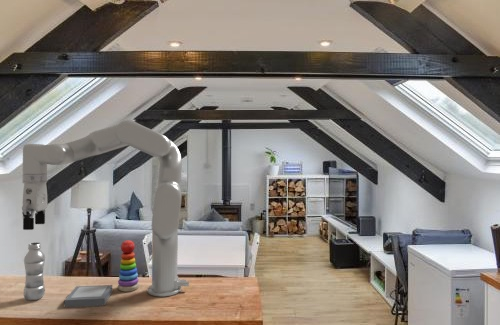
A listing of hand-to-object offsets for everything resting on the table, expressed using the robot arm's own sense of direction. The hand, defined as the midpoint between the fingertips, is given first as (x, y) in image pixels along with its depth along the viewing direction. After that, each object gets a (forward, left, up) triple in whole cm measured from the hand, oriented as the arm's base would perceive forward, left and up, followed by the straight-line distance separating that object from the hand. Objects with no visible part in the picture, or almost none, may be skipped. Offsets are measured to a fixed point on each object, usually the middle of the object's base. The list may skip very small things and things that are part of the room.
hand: (34, 226), depth 133 cm
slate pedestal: (-19, +2, -26) cm, 33 cm away
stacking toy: (-31, -7, -26) cm, 42 cm away
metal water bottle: (0, 0, -26) cm, 26 cm away
